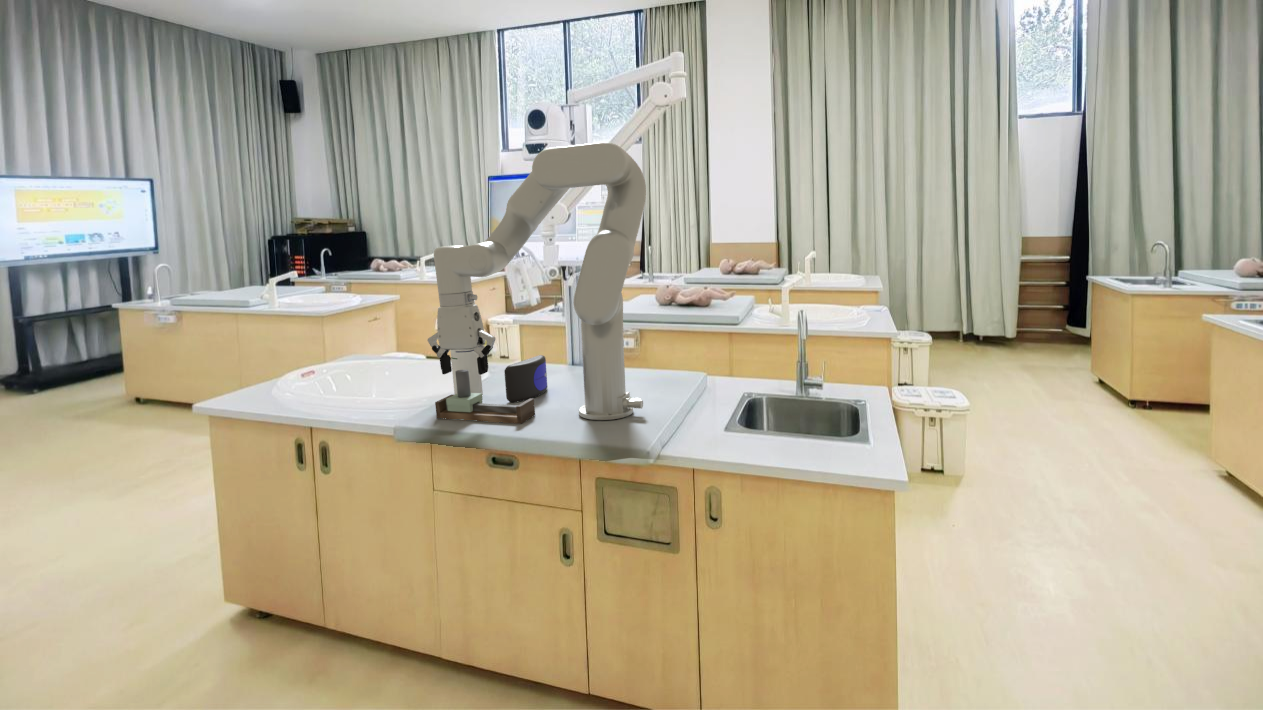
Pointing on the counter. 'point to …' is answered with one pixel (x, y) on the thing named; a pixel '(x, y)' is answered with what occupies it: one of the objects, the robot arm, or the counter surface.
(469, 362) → the cylindrical container
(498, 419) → the board
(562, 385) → the counter surface
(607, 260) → the robot arm
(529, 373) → the black curved block
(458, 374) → the carriage
